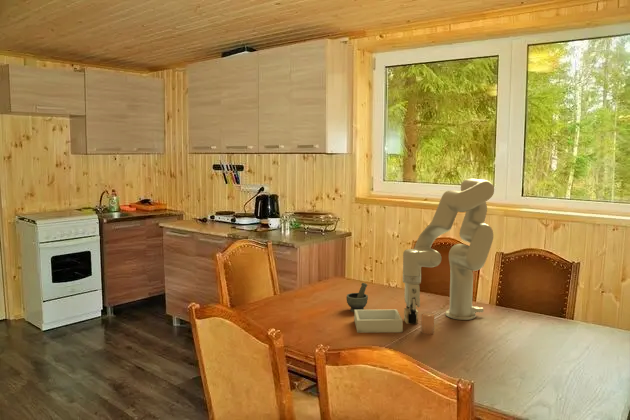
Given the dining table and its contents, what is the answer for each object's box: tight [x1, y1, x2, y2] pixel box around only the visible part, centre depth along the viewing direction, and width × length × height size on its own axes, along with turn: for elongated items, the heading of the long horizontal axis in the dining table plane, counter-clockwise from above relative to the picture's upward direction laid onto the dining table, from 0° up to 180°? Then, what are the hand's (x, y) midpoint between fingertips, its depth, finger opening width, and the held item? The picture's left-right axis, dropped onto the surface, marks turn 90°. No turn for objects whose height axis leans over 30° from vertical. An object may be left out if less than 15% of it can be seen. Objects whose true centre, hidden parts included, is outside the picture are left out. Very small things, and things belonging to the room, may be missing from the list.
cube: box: [403, 308, 419, 325], centre depth 219 cm, size 5×5×5 cm
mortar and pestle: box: [346, 282, 369, 313], centre depth 234 cm, size 11×9×12 cm
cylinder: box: [420, 312, 435, 335], centre depth 206 cm, size 5×5×7 cm
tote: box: [353, 308, 404, 334], centre depth 213 cm, size 18×14×5 cm
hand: (410, 320), depth 219 cm, fingers closed on cube, 5 cm apart
